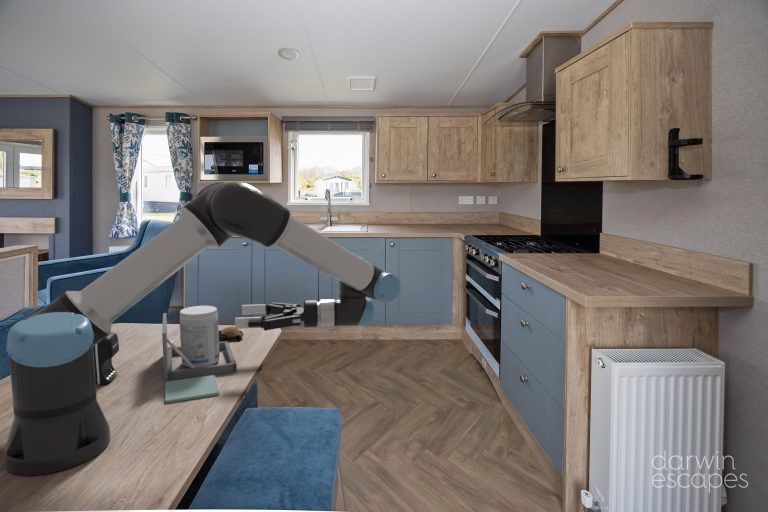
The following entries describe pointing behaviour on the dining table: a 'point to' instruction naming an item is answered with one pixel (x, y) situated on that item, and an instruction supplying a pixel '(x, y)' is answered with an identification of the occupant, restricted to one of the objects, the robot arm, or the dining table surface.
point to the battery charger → (105, 358)
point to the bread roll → (230, 335)
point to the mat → (190, 388)
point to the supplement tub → (199, 335)
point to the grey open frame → (192, 371)
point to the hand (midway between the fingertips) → (238, 316)
